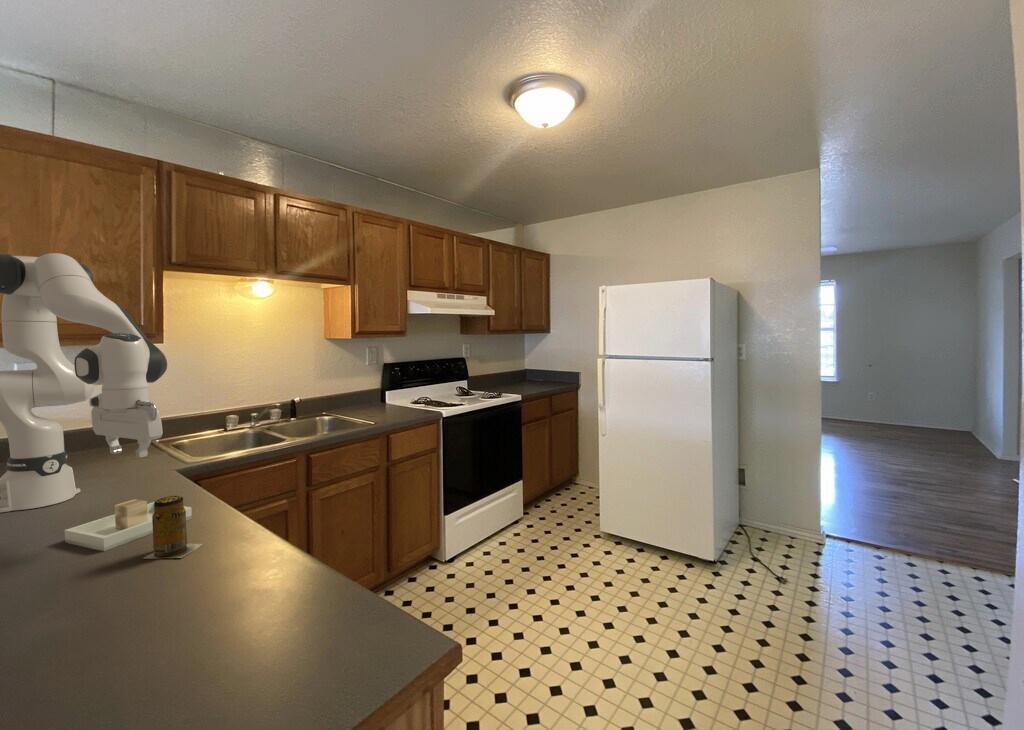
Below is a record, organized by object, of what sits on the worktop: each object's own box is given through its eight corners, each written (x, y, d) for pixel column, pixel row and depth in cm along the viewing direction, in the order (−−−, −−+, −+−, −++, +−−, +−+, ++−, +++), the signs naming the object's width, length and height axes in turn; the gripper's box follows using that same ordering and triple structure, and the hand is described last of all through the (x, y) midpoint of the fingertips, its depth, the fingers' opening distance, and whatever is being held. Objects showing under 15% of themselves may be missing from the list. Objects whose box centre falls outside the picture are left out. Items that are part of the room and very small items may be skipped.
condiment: (167, 544, 107) (165, 493, 106) (204, 544, 106) (201, 493, 106) (142, 559, 99) (139, 505, 99) (181, 559, 99) (178, 505, 99)
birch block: (115, 529, 113) (114, 505, 113) (135, 522, 118) (134, 499, 117) (128, 531, 112) (126, 507, 112) (147, 524, 116) (146, 501, 116)
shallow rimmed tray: (65, 542, 108) (64, 530, 107) (155, 512, 126) (154, 501, 126) (104, 551, 103) (103, 538, 103) (192, 518, 122) (191, 507, 122)
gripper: (169, 400, 113) (171, 455, 114) (113, 395, 119) (116, 448, 120) (141, 403, 107) (143, 462, 108) (84, 399, 113) (87, 454, 114)
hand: (128, 454), depth 114 cm, fingers open, 8 cm apart
